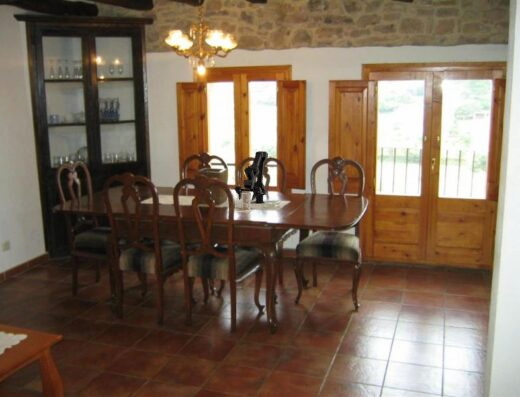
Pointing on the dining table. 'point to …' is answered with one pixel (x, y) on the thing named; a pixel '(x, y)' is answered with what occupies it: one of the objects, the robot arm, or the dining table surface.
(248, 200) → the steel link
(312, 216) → the dining table surface
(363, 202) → the dining table surface
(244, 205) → the birch stand
